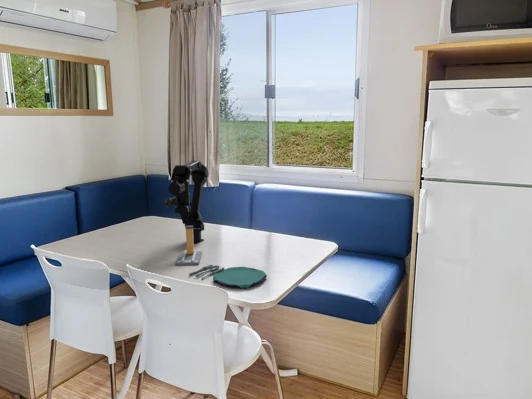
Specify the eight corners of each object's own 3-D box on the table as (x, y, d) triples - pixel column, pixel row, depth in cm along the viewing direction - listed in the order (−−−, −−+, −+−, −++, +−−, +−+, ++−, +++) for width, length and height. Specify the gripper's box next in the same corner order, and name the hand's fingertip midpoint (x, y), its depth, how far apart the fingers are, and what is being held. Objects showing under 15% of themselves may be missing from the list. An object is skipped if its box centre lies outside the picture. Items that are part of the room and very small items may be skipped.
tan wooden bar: (187, 252, 191) (186, 225, 188) (194, 252, 191) (193, 225, 189) (186, 254, 189) (185, 226, 186) (193, 254, 189) (192, 226, 186)
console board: (180, 253, 194) (180, 250, 193) (202, 253, 194) (201, 249, 194) (175, 265, 178) (175, 261, 178) (199, 264, 179) (198, 260, 178)
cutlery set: (246, 294, 149) (246, 288, 149) (184, 278, 164) (184, 273, 164) (274, 277, 166) (274, 271, 165) (215, 264, 181) (215, 259, 181)
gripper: (168, 188, 203) (170, 219, 206) (162, 195, 184) (163, 229, 187) (191, 188, 203) (192, 219, 206) (187, 195, 185) (188, 228, 188)
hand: (184, 223), depth 197 cm, fingers closed
